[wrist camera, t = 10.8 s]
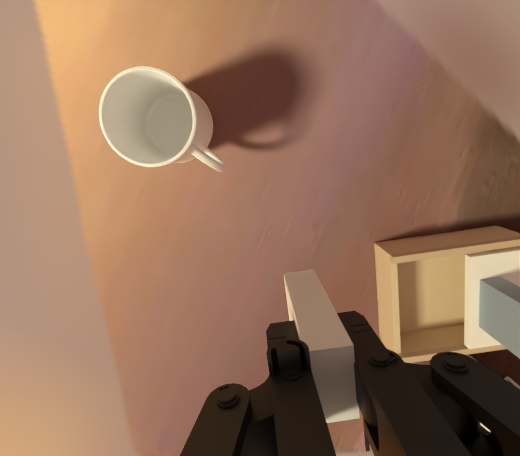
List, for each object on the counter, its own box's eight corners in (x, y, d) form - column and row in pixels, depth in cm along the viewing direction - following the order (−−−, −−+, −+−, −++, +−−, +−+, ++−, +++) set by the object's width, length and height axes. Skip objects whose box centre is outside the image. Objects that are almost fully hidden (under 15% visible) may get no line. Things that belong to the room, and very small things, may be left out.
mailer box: (379, 338, 48) (397, 364, 42) (374, 242, 44) (393, 257, 39) (493, 321, 48) (526, 346, 42) (496, 225, 44) (533, 237, 39)
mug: (248, 143, 41) (249, 143, 29) (201, 195, 42) (184, 215, 30) (171, 70, 39) (139, 38, 27) (124, 127, 40) (74, 120, 28)
